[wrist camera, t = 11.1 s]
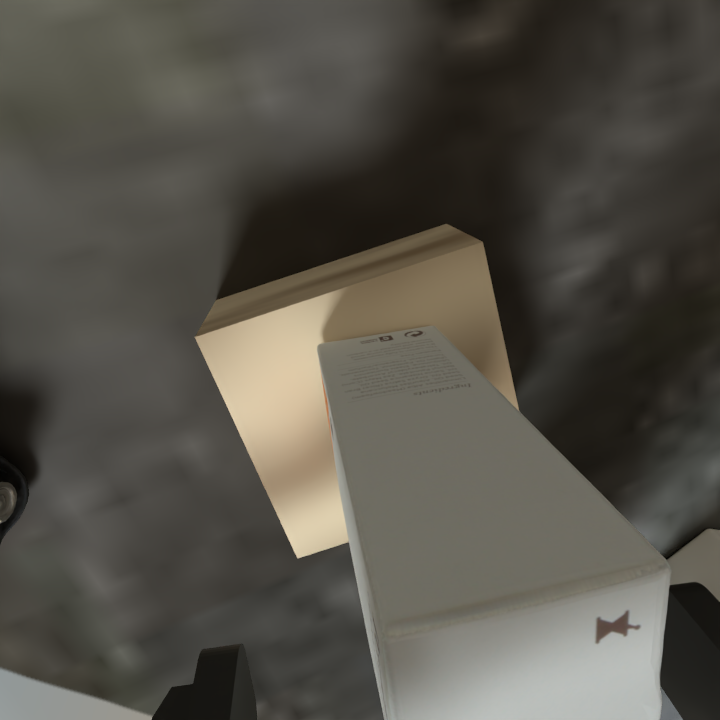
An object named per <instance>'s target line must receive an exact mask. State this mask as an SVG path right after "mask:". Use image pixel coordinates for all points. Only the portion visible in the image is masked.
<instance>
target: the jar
mask: <svg viewBox="0 0 720 720" xmlns="http://www.w3.org/2000/svg"><path fill="white" fill-rule="evenodd" d="M667 562H668V564H669V565H670V568H671V579H670V585H675V584H682V583H689V582H698V583H700V584H702V585H703V586H705V587H706V588H707V589H708V590H709V591H710V592H711V593H712V594H713V595H714V596H715V597H716V599H717V600H718V601H719V602H720V530H716V529H706V530H705V531H703V532H702V533H701V534H700V535H698V536H697V537H696V538H694V539H693V540H692V541H690V542H689V543H688V544H687V545H685V546H684V547H683V548H681V549H680V550H679V551H677V552H676V553H675V554H674V555H672V556H671V557H670V558H668V559H667Z"/></svg>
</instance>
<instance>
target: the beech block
mask: <svg viewBox="0 0 720 720" xmlns="http://www.w3.org/2000/svg"><path fill="white" fill-rule="evenodd" d="M426 326H435V327H436V328H437V329H438V330H439V331H440V332H441V333H442V334H443V335H444V336H445V337H446V338H447V339H448V340H449V341H450V342H451V343H452V344H453V345H454V346H455V347H456V348H457V349H458V350H459V351H460V352H461V353H462V354H463V355H464V356H465V357H466V358H467V359H468V360H469V361H470V362H471V363H472V364H473V365H474V366H475V367H476V368H477V369H478V370H479V371H480V372H481V373H482V374H483V375H484V376H485V377H486V378H487V379H488V380H489V381H490V382H491V383H492V384H493V386H495V387H496V388H497V389H498V390H499V391H500V392H501V393H502V394H503V395H504V396H505V397H506V398H507V399H508V400H509V401H510V402H511V404H512V405H513V406H514V407H515V408H516V409H517V410H518V411H519V408H518V403H517V399H516V394H515V389H514V385H513V380H512V375H511V371H510V366H509V361H508V357H507V352H506V347H505V343H504V338H503V333H502V329H501V324H500V319H499V315H498V310H497V305H496V301H495V296H494V291H493V287H492V282H491V277H490V273H489V268H488V263H487V259H486V254H485V250H484V245H483V242H482V241H480V240H478V239H476V238H474V237H472V236H470V235H468V234H466V233H464V232H462V231H460V230H458V229H456V228H454V227H452V226H450V225H448V224H444V225H441V226H438V227H435V228H432V229H429V230H426V231H423V232H420V233H417V234H414V235H411V236H408V237H405V238H402V239H399V240H396V241H393V242H390V243H387V244H384V245H381V246H378V247H375V248H372V249H369V250H366V251H363V252H360V253H357V254H354V255H351V256H348V257H345V258H342V259H339V260H336V261H333V262H330V263H327V264H324V265H321V266H318V267H315V268H312V269H309V270H306V271H303V272H299V273H296V274H293V275H290V276H287V277H284V278H281V279H278V280H275V281H272V282H269V283H266V284H263V285H260V286H257V287H254V288H251V289H248V290H245V291H242V292H239V293H236V294H233V295H230V296H227V297H224V298H221V299H218V300H216V301H215V303H214V305H213V306H212V308H211V310H210V312H209V313H208V315H207V317H206V319H205V320H204V322H203V324H202V326H201V327H200V329H199V331H198V333H197V334H196V336H195V338H196V341H197V343H198V345H199V347H200V349H201V351H202V354H203V356H204V358H205V360H206V362H207V364H208V366H209V369H210V371H211V373H212V375H213V377H214V379H215V382H216V384H217V386H218V388H219V390H220V392H221V394H222V397H223V399H224V401H225V403H226V405H227V407H228V410H229V412H230V414H231V416H232V418H233V420H234V422H235V425H236V427H237V429H238V431H239V433H240V435H241V438H242V440H243V442H244V444H245V446H246V448H247V450H248V453H249V455H250V457H251V459H252V461H253V463H254V466H255V468H256V470H257V472H258V474H259V476H260V479H261V481H262V483H263V485H264V487H265V489H266V491H267V494H268V496H269V498H270V500H271V502H272V504H273V507H274V509H275V511H276V513H277V515H278V517H279V519H280V522H281V524H282V526H283V528H284V530H285V532H286V535H287V537H288V539H289V541H290V543H291V545H292V547H293V550H294V552H295V554H296V556H297V558H300V557H303V556H307V555H310V554H313V553H316V552H319V551H322V550H325V549H328V548H331V547H335V546H338V545H341V544H344V543H347V542H349V539H348V534H347V528H346V523H345V518H344V512H343V507H342V501H341V496H340V490H339V485H338V479H337V473H336V466H335V460H334V454H333V448H332V442H331V436H330V429H329V423H328V417H327V410H326V404H325V397H324V390H323V383H322V377H321V370H320V364H319V358H318V353H317V346H318V345H319V344H321V343H326V342H333V341H340V340H346V339H352V338H359V337H365V336H371V335H377V334H384V333H390V332H396V331H402V330H408V329H414V328H420V327H426Z"/></svg>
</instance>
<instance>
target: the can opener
mask: <svg viewBox="0 0 720 720" xmlns="http://www.w3.org/2000/svg"><path fill="white" fill-rule="evenodd" d="M28 496H29V489H28V484H27V481H26V479H25V477H24V476H23V474H22V473H21V472H20V471H19V470H18V469H17V468H16V467H15V466H14V465H13V464H11V463H10V462H9V461H7V460H6V459H5V458H3V457H2V456H0V544H1V541H2V539H3V537H4V536H5V534H6V533H7V532H8V531H9V530H10V529H11V528H12V527H13V525H14V524H15V523H16V522H17V520H18V519H19V518H20V516H21V515H22V513H23V511H24V509H25V507H26V504H27V501H28Z"/></svg>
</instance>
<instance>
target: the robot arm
mask: <svg viewBox="0 0 720 720" xmlns="http://www.w3.org/2000/svg"><path fill="white" fill-rule="evenodd" d="M660 686H661V687H662V689H663V690H664V692H665V693H666V695H667V696H668V698H669V699H670V701H671V702H672V704H673V705H674V707H675V708H676V710H677V711H678V712H679V714H680V715H681V717H682V718H683V720H720V602H719V601H718V600H717V599H716V597H715V596H714V595H713V594H712V593H711V592H710V591H709V590H708V589H707V588H706V587H705V586H703V585H702V584H700V583H698V582H689V583H682V584H675V585H670V586H669V595H668V606H667V615H666V622H665V630H664V639H663V653H662V662H661V670H660ZM152 720H257V710H256V700H255V694H254V690H253V685H252V680H251V676H250V671H249V666H248V662H247V657H246V652H245V648H244V645H243V644H237V645H230V646H223V647H216V648H209V649H203V650H202V651H201V653H200V655H199V658H198V663H197V668H196V673H195V678H194V683H193V684H191V685H184V686H177V687H171V689H170V691H169V692H168V694H167V695H166V697H165V698H164V700H163V702H162V703H161V705H160V706H159V708H158V709H157V711H156V713H155V714H154V716H153V717H152Z"/></svg>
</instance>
